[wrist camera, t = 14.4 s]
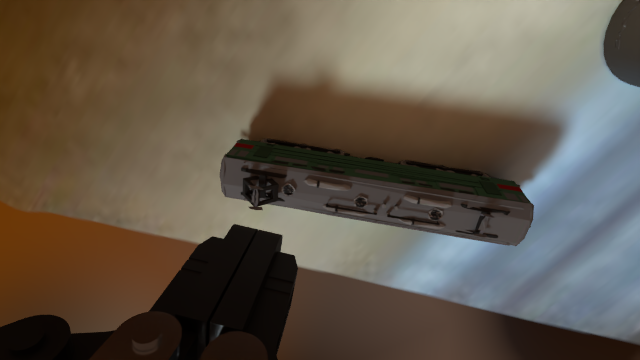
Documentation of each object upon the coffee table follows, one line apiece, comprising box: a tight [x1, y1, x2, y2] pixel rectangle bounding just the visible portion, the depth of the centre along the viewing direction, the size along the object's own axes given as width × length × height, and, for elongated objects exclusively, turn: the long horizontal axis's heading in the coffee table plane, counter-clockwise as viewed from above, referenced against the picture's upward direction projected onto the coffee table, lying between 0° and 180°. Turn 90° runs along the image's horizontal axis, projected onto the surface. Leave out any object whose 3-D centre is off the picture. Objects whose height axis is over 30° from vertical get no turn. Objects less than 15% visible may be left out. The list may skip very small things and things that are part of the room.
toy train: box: [220, 138, 534, 246], centre depth 34 cm, size 5×31×10 cm, turn 84°
